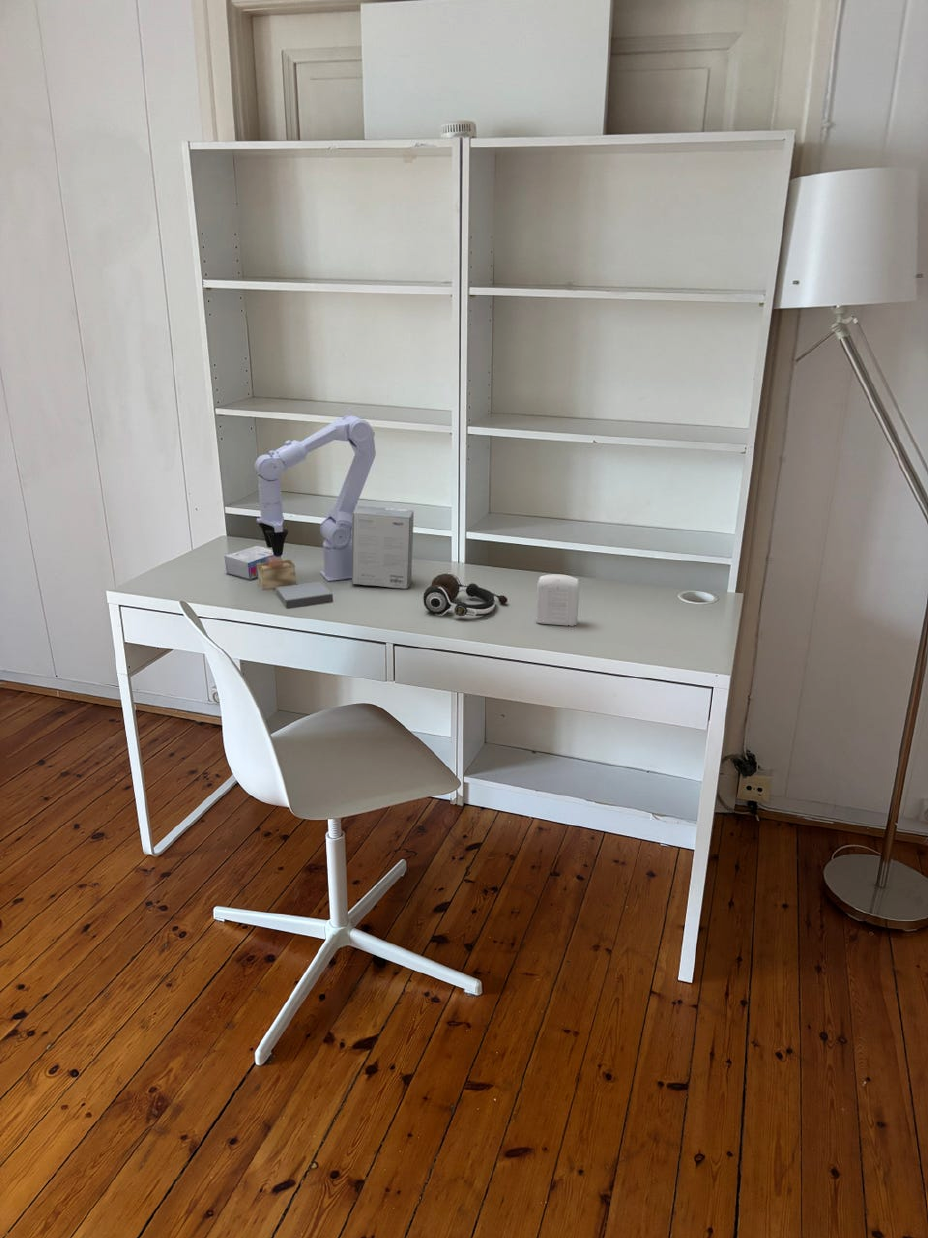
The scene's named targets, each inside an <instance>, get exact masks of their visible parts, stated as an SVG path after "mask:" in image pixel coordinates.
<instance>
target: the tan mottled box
mask: <svg viewBox="0 0 928 1238" xmlns="http://www.w3.org/2000/svg"><path fill="white" fill-rule="evenodd" d="M282 560H283V559H282ZM257 571H258V577H257V579H258V581H257V582H258V585H259V586H260V588H261V589H262V590H269V589H276V587H283V586H290V585H297V580H296V566H295V564H294V563H293V561H292V560H291V559H284V560H283V566H278V567H271V568H270V567H269V566H268V562H266V563H258V564H257Z"/></svg>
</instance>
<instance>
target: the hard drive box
mask: <svg viewBox="0 0 928 1238" xmlns="http://www.w3.org/2000/svg"><path fill="white" fill-rule="evenodd" d="M414 511H415V510H413V509H401V508H390V507H375V506H374V507H373V506H363V505H362V506H361V505H358V506H357V507H355V510H354V512H353V515H352V529H351V540H352V541H351V543H352V578H351V584H354V585H363V586H373V587H374V586H375V587H376V586H377V587H384V588H385V587H386V588H390V589H391V588H392V589H404V590H405V589H406V590H407V589H408V588H409V587H410V583H411V581H412V574H413V573H412V567H413V547H414V546H413V544H414V543H413V539H414Z"/></svg>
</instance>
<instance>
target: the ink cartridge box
mask: <svg viewBox="0 0 928 1238" xmlns="http://www.w3.org/2000/svg"><path fill="white" fill-rule="evenodd" d="M274 557H280V558H281V559H282V555H279V556H274V554H273V551H272V549H270V548H268V547H263V546H260V545H254V546H251V547H248V548H245V549H243V550H238V551H236V552H233V553H229V554H227V555H225V556H224V561H225V563H224V564H225V570H226V574H228V575H231V576H235V577H239V578H243V579H245V580H249V581H252V580H255V579H258V571H257V564H258V563H266V562H268V560H267V558H274Z"/></svg>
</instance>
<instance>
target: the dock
mask: <svg viewBox="0 0 928 1238" xmlns="http://www.w3.org/2000/svg"><path fill="white" fill-rule="evenodd" d="M275 589H276V595H277V596H278V598H279V600H280V601H281V603H283V605H284V606H285V608H286V609H292V608H299V607H306V606H307V607H308V606H313V605H321V604H326V603H328V604H329V603H333V602H334V596H333V593H332V592H331V591H330V590H329V589H328V587H326V585H325V584H324V582H322V581H314V582H307V583H305V582H304V583H299V584H296V585H290V586H283V587H276V588H275Z"/></svg>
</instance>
